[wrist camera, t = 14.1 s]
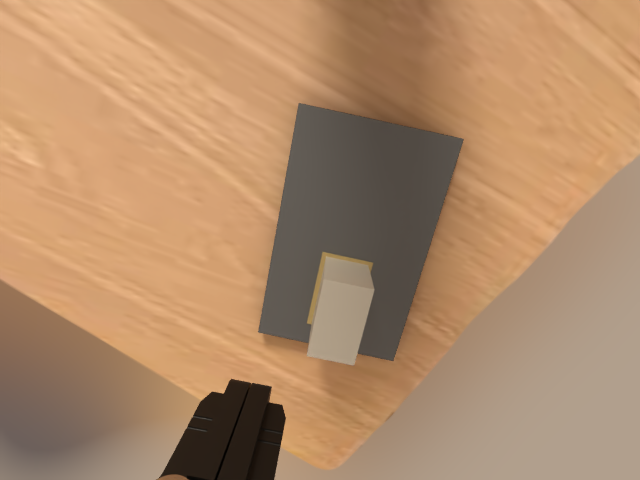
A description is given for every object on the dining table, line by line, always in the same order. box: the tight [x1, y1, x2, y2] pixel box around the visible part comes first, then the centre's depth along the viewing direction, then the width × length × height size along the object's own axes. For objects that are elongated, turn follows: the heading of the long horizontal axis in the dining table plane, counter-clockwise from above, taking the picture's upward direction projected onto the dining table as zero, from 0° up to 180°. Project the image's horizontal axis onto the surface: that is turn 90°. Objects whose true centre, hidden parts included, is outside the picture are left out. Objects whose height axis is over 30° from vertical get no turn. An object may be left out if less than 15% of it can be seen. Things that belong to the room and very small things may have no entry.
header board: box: [258, 103, 464, 361], centre depth 29 cm, size 22×14×6 cm, turn 168°
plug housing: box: [307, 256, 375, 366], centre depth 29 cm, size 7×4×6 cm, turn 169°
